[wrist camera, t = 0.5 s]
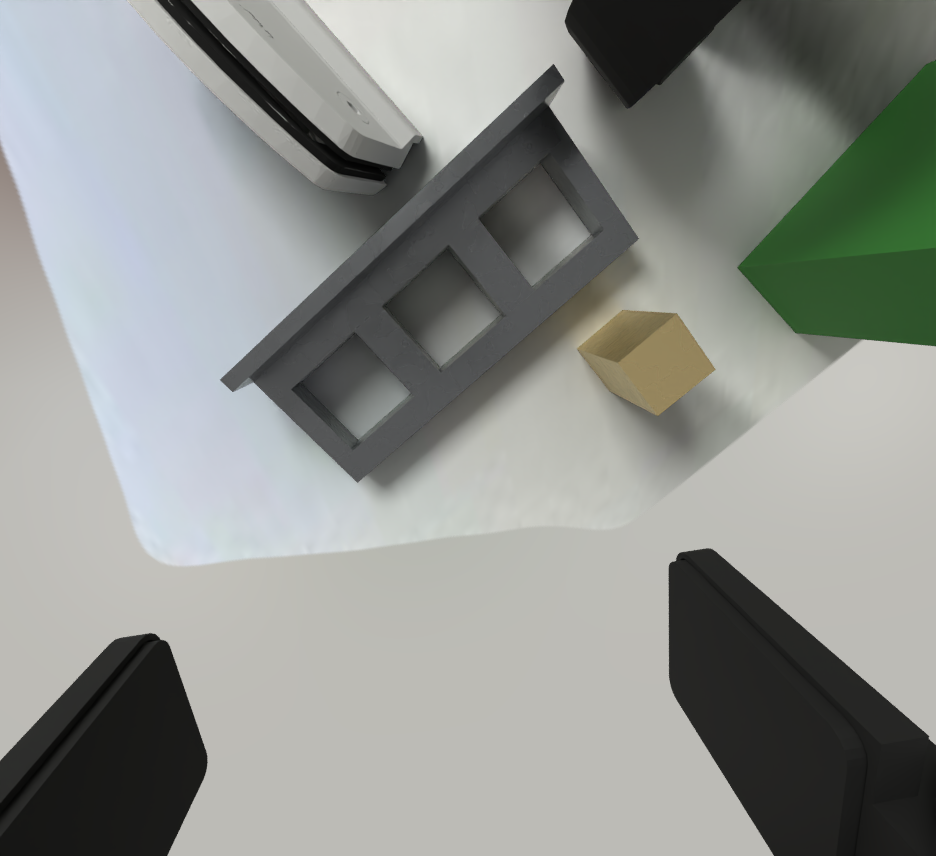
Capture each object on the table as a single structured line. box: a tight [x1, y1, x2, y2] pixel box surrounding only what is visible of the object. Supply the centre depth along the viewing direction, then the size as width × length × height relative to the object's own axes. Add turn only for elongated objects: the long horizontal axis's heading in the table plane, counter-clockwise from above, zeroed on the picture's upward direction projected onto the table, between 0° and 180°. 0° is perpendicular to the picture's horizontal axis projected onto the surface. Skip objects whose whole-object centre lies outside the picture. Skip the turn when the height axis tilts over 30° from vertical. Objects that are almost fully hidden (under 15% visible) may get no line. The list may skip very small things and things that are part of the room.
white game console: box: [127, 0, 423, 195], centre depth 26 cm, size 17×5×10 cm, turn 45°
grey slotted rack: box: [220, 64, 639, 483], centre depth 31 cm, size 26×11×6 cm, turn 131°
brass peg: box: [577, 310, 716, 416], centre depth 32 cm, size 4×4×8 cm
